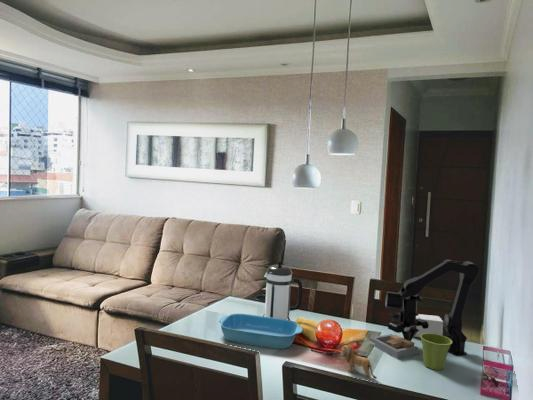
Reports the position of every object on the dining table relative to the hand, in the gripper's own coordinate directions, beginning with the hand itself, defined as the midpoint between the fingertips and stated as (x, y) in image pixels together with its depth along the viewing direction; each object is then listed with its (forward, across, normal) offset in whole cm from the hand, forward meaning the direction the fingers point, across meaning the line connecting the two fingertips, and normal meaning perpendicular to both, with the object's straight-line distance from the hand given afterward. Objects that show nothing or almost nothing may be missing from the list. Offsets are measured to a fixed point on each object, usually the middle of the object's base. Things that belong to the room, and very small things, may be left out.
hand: (407, 344), depth 190 cm
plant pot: (+1, +5, +19) cm, 20 cm away
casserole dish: (+1, +58, -29) cm, 65 cm away
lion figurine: (+1, +38, +13) cm, 40 cm away
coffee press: (+1, +38, -48) cm, 61 cm away
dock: (+1, +9, 0) cm, 9 cm away
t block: (+1, +7, +1) cm, 7 cm away
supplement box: (-3, -13, -13) cm, 18 cm away
